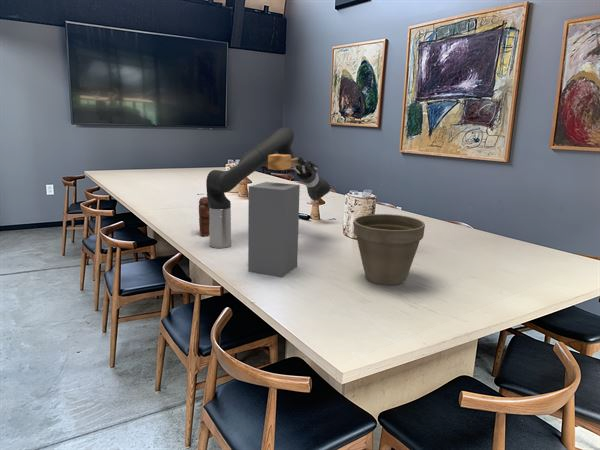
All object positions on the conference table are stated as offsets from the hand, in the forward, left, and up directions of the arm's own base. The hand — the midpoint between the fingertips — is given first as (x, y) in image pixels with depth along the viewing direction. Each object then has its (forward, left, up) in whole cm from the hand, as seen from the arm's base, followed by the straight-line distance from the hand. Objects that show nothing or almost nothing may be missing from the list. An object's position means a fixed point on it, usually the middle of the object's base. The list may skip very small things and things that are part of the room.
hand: (294, 158), depth 184 cm
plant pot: (+40, +12, -41) cm, 59 cm away
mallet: (+3, -6, -3) cm, 7 cm away
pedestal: (+9, -16, -41) cm, 45 cm away
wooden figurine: (-52, -14, -41) cm, 67 cm away
